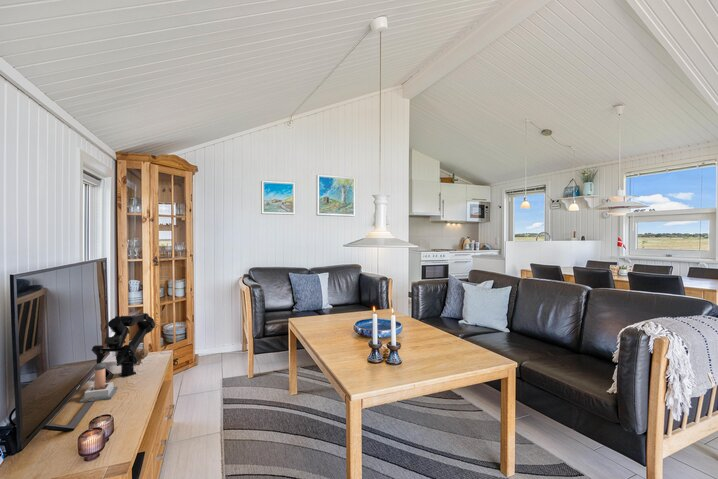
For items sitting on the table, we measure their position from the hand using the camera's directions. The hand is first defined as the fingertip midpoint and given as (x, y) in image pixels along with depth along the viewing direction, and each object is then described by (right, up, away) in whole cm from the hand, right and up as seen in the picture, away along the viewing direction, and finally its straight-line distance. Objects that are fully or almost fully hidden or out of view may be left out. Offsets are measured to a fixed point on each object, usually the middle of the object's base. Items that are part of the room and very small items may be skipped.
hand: (107, 365), depth 174 cm
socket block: (0, -12, -6) cm, 13 cm away
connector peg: (+1, -11, -6) cm, 12 cm away
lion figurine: (-8, -12, +35) cm, 38 cm away
